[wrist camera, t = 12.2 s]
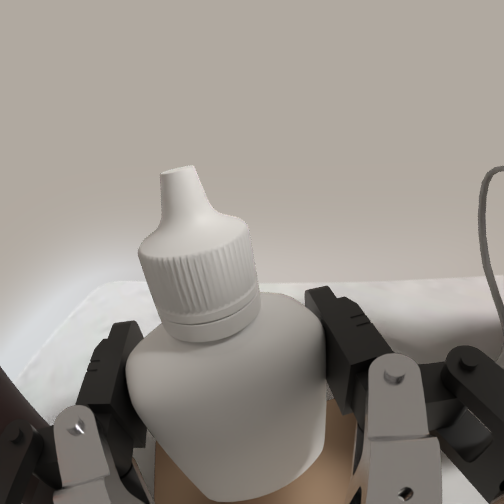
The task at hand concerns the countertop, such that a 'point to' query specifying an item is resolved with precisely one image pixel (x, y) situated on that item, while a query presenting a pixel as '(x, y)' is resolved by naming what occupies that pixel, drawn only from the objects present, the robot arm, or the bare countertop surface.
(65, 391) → the countertop surface
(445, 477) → the countertop surface
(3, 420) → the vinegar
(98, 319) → the countertop surface
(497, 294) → the glass holder
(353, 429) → the walnut board
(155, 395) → the eye dropper bottle
